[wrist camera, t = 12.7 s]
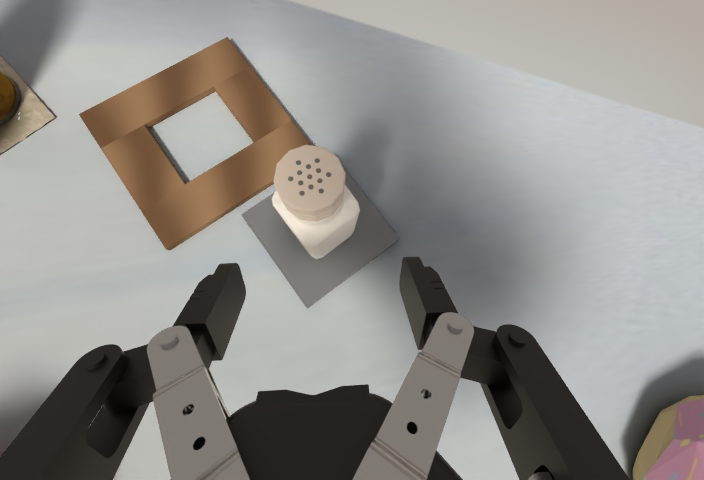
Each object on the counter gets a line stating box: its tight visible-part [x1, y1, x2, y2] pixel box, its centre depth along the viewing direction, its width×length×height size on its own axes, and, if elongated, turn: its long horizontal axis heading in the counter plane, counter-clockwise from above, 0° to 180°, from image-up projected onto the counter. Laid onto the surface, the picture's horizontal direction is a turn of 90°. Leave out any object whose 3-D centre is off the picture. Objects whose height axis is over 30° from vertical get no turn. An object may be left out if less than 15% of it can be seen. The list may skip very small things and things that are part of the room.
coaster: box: [241, 164, 400, 308], centre depth 21 cm, size 9×9×1 cm
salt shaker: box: [272, 145, 360, 259], centre depth 16 cm, size 4×4×10 cm
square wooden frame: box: [79, 37, 312, 250], centre depth 22 cm, size 14×14×1 cm
